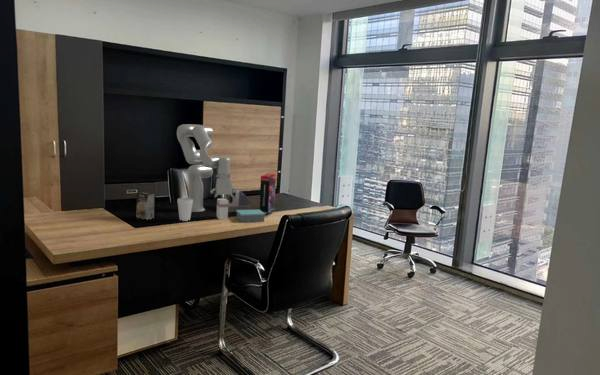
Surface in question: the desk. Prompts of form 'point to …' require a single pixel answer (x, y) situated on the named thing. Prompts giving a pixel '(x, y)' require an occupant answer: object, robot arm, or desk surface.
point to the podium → (250, 215)
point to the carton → (222, 209)
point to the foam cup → (185, 208)
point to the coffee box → (145, 205)
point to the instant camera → (238, 202)
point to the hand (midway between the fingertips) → (223, 202)
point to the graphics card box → (267, 193)
